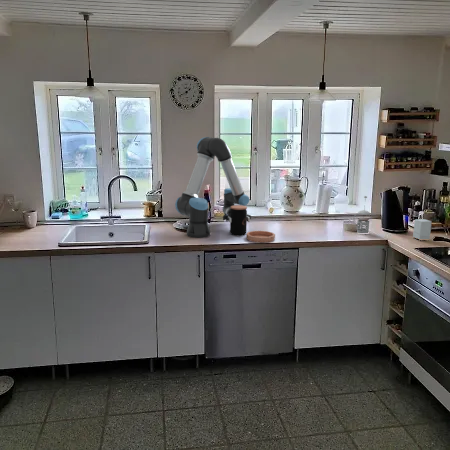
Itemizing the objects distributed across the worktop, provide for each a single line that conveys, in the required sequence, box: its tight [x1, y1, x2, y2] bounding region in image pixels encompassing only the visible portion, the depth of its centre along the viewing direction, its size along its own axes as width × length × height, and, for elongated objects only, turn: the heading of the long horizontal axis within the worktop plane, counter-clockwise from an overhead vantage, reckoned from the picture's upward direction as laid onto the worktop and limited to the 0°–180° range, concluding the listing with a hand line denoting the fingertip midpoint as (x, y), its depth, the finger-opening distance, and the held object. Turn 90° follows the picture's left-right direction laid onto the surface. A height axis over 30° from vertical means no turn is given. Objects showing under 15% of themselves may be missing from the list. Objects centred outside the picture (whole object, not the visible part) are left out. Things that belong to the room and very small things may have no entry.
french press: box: [352, 195, 371, 233], centre depth 290 cm, size 10×12×25 cm
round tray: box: [245, 230, 276, 243], centre depth 272 cm, size 17×17×3 cm
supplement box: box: [412, 218, 433, 240], centre depth 275 cm, size 7×7×13 cm
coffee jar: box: [229, 204, 248, 237], centre depth 281 cm, size 11×11×18 cm
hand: (240, 220), depth 277 cm, fingers open, 11 cm apart
